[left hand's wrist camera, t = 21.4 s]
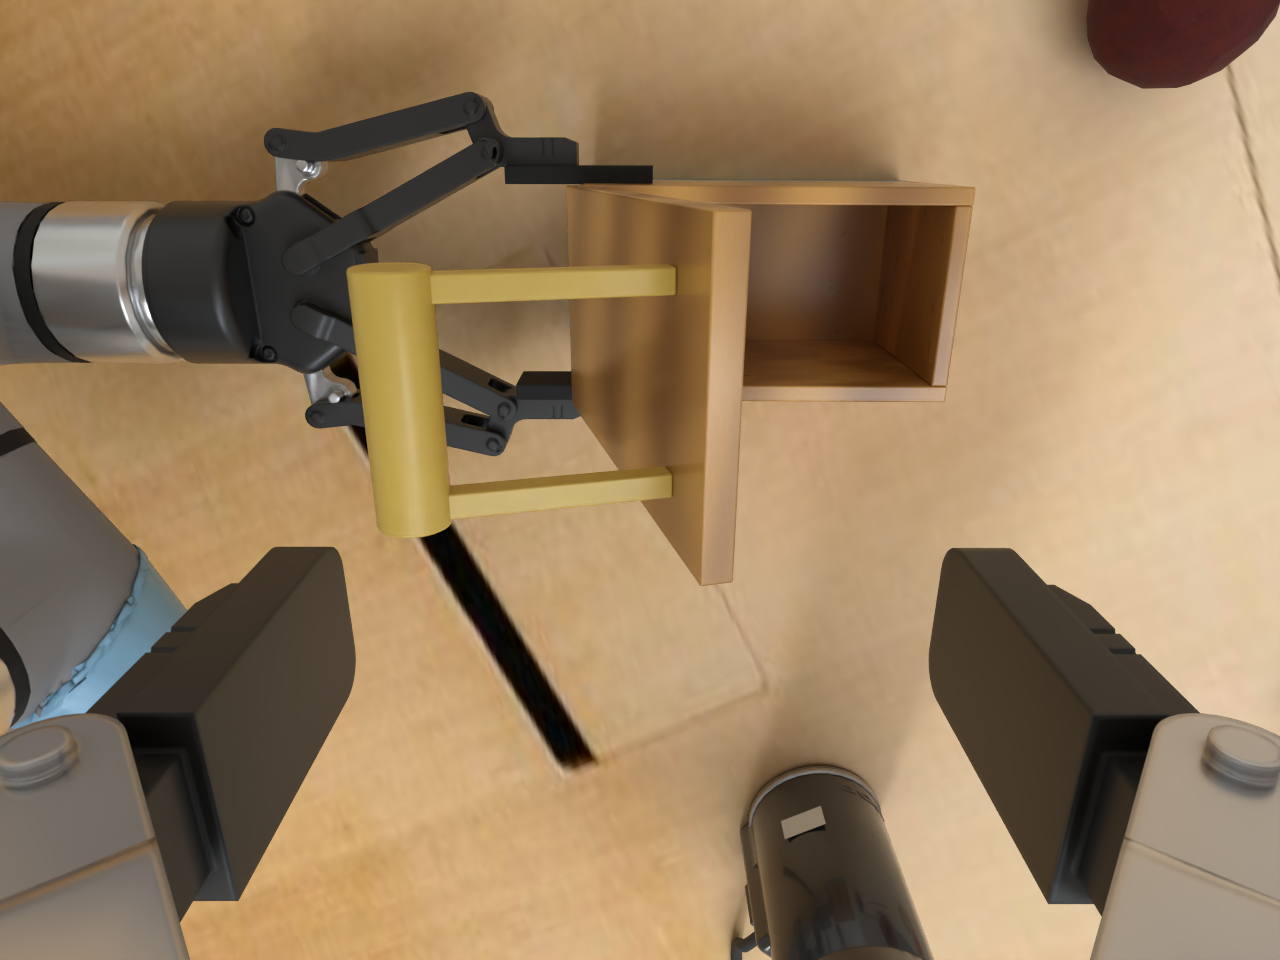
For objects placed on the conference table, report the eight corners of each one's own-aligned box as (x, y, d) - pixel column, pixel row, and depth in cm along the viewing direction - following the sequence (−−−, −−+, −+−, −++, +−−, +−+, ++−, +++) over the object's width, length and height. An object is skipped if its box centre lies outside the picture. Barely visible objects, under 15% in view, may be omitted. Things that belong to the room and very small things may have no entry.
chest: (900, 180, 44) (976, 186, 34) (881, 351, 47) (945, 402, 37) (592, 179, 44) (577, 184, 34) (595, 349, 47) (582, 400, 37)
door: (753, 209, 18) (328, 213, 16) (733, 582, 21) (380, 628, 19) (588, 185, 34) (363, 186, 31) (592, 403, 37) (389, 417, 35)
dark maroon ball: (1140, -113, 39) (1241, -168, 32) (1248, -4, 41) (1365, -36, 34) (1028, 31, 41) (1102, 6, 35) (1135, 128, 43) (1225, 122, 36)
